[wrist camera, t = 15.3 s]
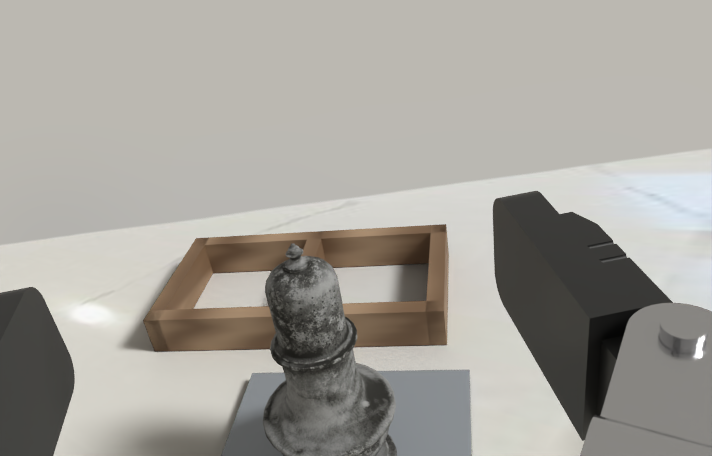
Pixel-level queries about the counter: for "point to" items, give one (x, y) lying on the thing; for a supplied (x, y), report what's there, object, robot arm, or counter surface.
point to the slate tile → (408, 429)
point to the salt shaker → (321, 369)
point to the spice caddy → (264, 252)
